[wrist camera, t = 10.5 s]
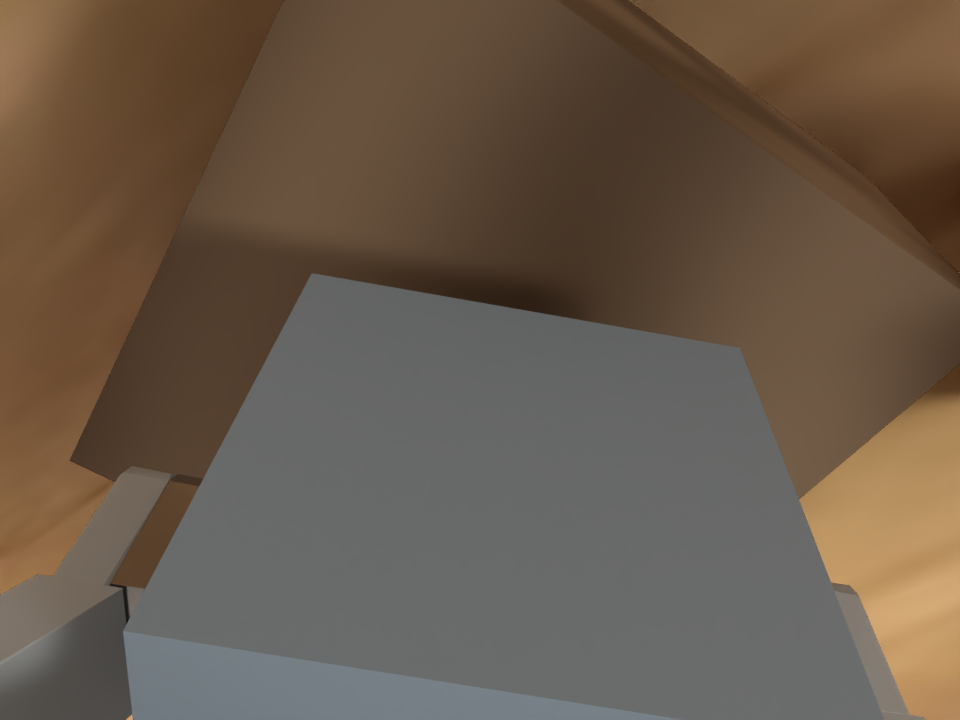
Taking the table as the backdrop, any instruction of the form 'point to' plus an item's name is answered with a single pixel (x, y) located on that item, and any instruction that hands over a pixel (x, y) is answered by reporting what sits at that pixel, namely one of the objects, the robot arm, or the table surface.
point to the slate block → (492, 533)
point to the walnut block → (530, 219)
